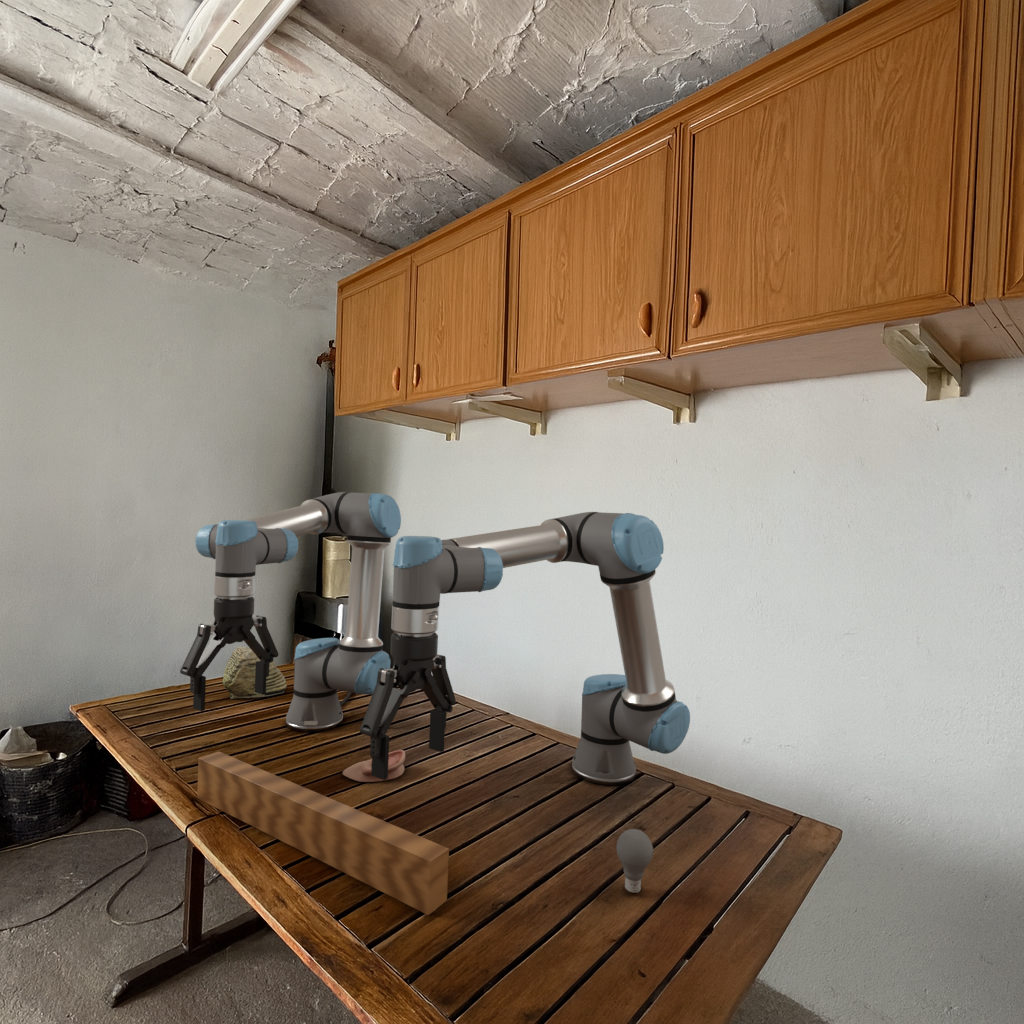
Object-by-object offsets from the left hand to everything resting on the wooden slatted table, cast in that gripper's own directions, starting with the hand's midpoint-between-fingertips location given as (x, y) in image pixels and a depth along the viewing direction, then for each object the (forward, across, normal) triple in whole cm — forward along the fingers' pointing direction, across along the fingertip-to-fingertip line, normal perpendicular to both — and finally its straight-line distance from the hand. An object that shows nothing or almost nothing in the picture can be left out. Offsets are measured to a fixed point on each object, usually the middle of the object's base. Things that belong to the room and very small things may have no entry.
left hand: (230, 700), depth 128 cm
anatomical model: (+21, +29, -13) cm, 38 cm away
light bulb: (+21, +23, -78) cm, 84 cm away
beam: (+21, 0, -24) cm, 32 cm away
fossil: (+21, +46, +56) cm, 76 cm away
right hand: (0, 0, -48) cm, 48 cm away
